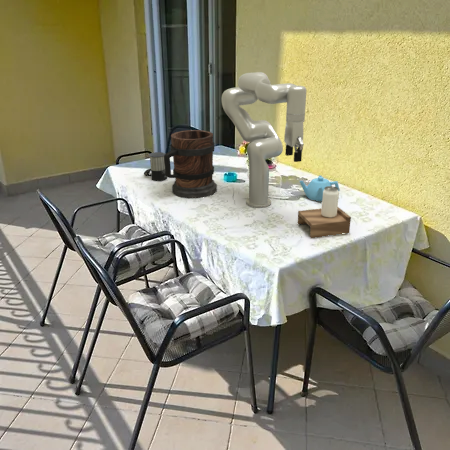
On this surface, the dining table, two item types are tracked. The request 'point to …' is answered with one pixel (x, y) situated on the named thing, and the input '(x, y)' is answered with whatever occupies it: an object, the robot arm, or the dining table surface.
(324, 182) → the teapot
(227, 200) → the dining table surface
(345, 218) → the shelf
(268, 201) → the robot arm
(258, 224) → the dining table surface
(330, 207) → the can
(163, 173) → the milk frother
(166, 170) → the wooden tankard
